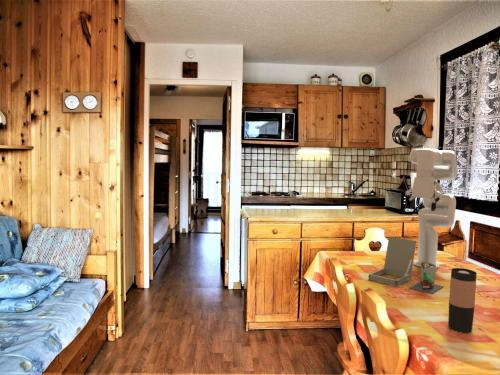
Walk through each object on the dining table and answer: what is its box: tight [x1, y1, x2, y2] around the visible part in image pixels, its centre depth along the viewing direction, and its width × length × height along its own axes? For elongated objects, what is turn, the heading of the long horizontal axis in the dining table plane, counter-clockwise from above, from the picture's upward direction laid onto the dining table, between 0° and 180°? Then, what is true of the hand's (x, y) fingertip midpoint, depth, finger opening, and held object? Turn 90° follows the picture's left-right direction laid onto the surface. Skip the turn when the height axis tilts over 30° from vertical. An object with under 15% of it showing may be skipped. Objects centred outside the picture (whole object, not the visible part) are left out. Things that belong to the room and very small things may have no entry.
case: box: [368, 236, 417, 287], centre depth 189 cm, size 21×14×18 cm, turn 137°
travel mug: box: [447, 267, 478, 334], centre depth 133 cm, size 8×8×20 cm
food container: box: [419, 261, 438, 290], centre depth 176 cm, size 12×6×10 cm, turn 162°
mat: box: [408, 281, 444, 295], centre depth 177 cm, size 14×10×1 cm
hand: (422, 209), depth 191 cm, fingers open, 9 cm apart
